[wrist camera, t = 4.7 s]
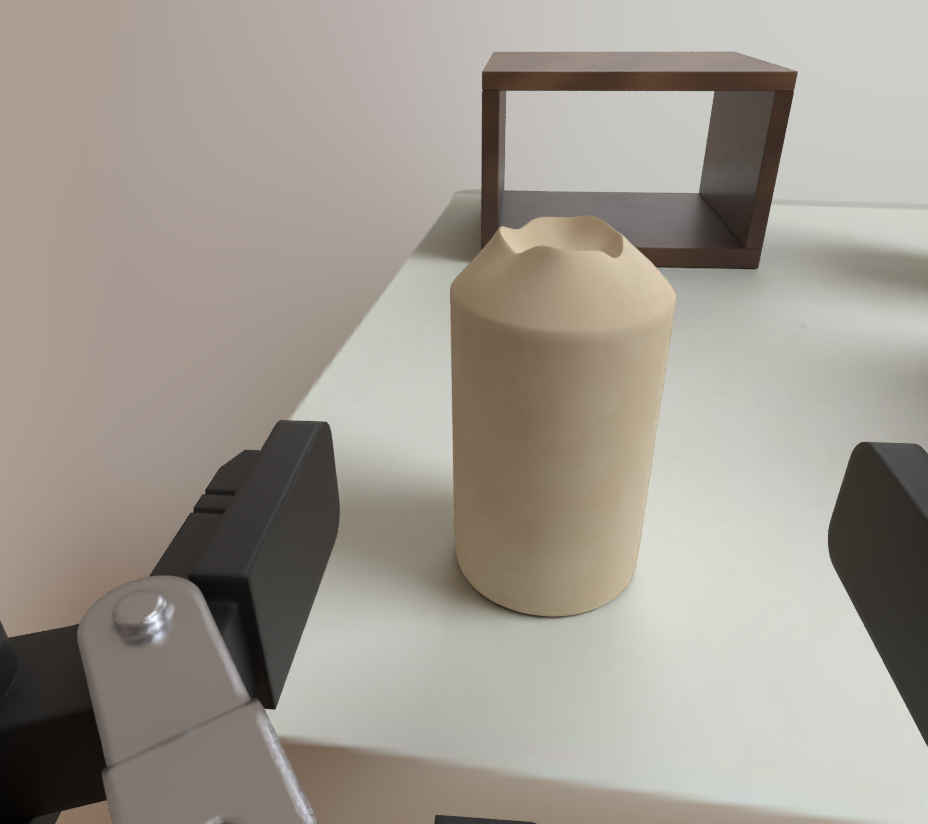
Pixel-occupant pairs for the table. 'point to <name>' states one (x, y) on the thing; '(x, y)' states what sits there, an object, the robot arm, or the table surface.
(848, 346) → the table surface
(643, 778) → the table surface
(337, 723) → the table surface
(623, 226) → the shelf
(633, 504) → the candle
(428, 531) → the table surface
